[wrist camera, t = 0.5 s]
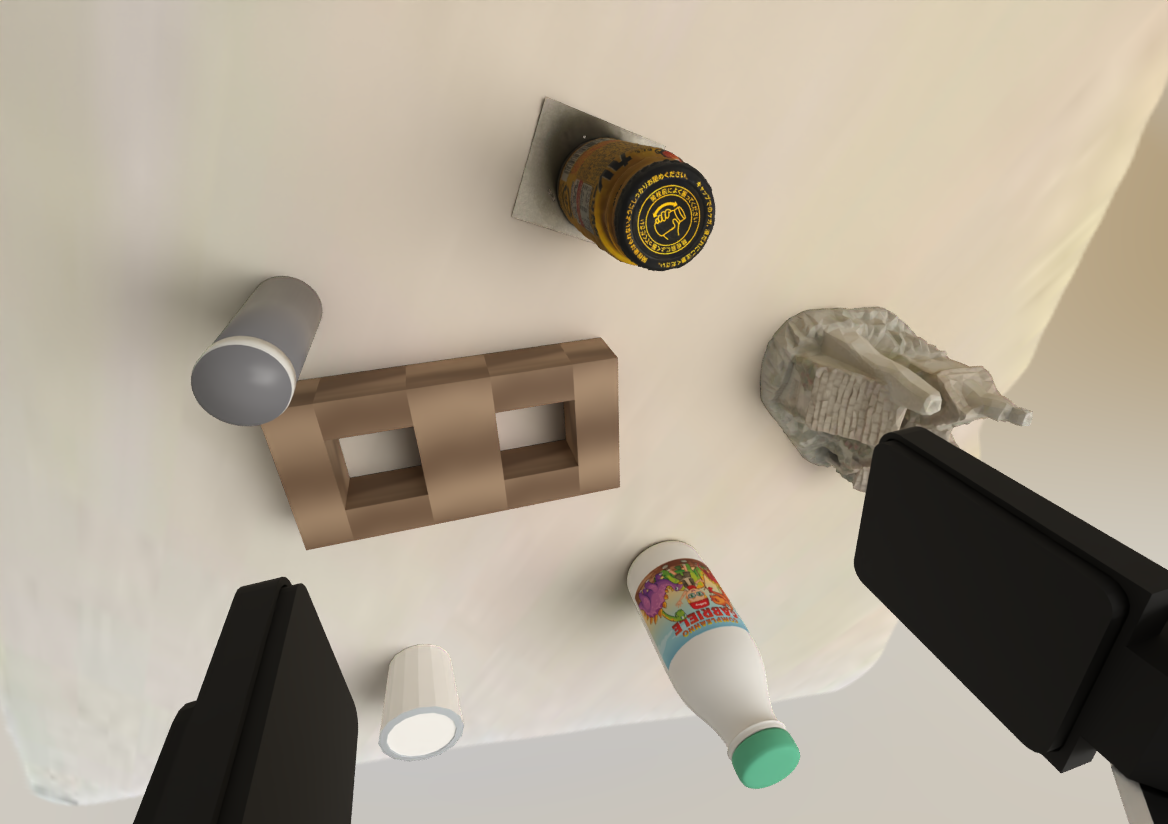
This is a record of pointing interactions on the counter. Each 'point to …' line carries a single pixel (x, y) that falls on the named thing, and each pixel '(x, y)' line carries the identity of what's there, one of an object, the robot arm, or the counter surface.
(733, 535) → the counter surface
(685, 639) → the milk bottle
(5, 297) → the counter surface
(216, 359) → the grey rounded cylinder
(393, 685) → the shot glass
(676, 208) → the condiment
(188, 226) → the counter surface
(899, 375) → the gray stone sculpture
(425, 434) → the socket block
